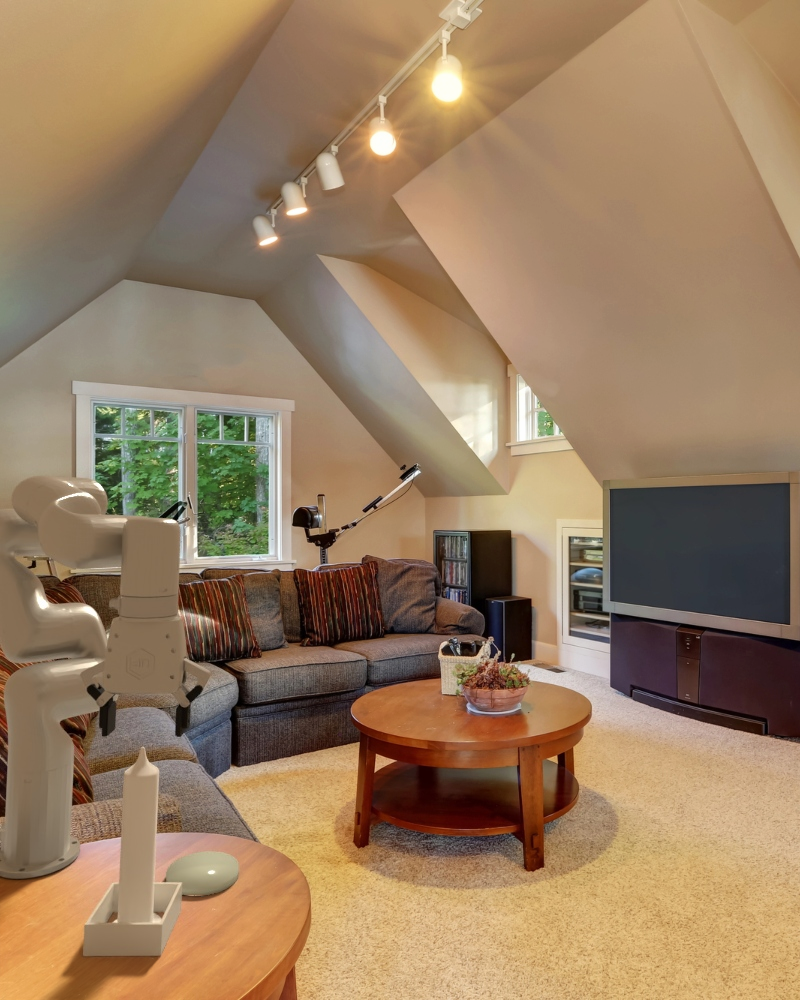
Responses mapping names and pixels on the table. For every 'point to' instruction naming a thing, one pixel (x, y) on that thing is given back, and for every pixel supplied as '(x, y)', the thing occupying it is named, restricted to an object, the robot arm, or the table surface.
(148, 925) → the tray
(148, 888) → the candle
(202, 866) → the pale green dome
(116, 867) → the table surface
